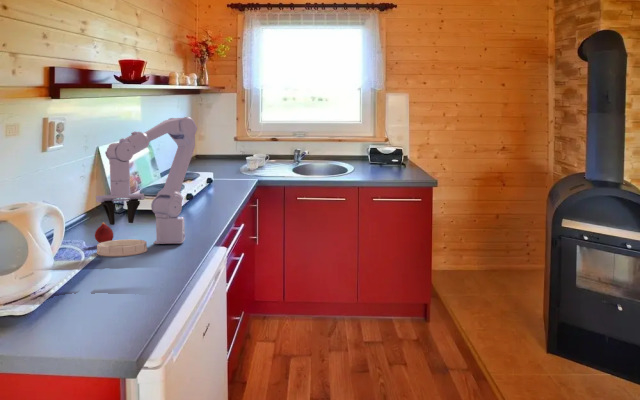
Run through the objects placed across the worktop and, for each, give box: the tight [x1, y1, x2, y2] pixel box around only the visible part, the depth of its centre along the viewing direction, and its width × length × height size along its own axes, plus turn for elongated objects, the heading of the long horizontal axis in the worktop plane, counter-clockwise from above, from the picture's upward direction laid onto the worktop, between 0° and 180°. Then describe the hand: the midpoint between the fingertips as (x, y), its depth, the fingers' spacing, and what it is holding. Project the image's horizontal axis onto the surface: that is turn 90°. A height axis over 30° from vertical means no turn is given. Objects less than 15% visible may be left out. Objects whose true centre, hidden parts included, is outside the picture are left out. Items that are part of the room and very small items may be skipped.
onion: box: [94, 222, 114, 244], centre depth 165 cm, size 6×6×8 cm
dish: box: [96, 239, 148, 258], centre depth 155 cm, size 15×15×3 cm
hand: (121, 223), depth 154 cm, fingers open, 5 cm apart
